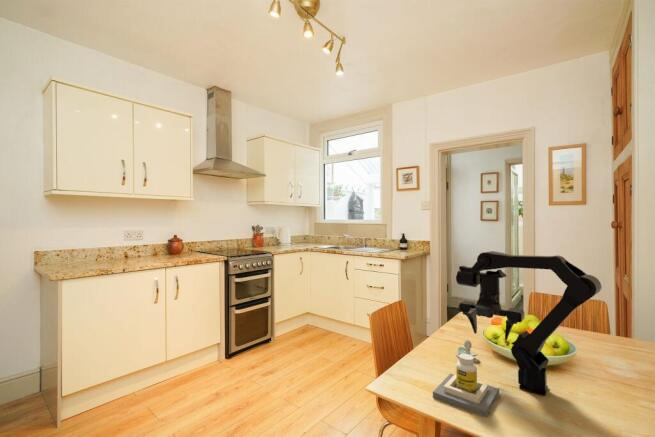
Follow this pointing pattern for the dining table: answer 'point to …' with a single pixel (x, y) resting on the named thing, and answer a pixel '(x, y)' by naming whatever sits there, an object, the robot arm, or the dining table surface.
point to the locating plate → (467, 396)
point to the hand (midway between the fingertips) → (490, 336)
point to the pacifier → (465, 349)
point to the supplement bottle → (466, 374)
